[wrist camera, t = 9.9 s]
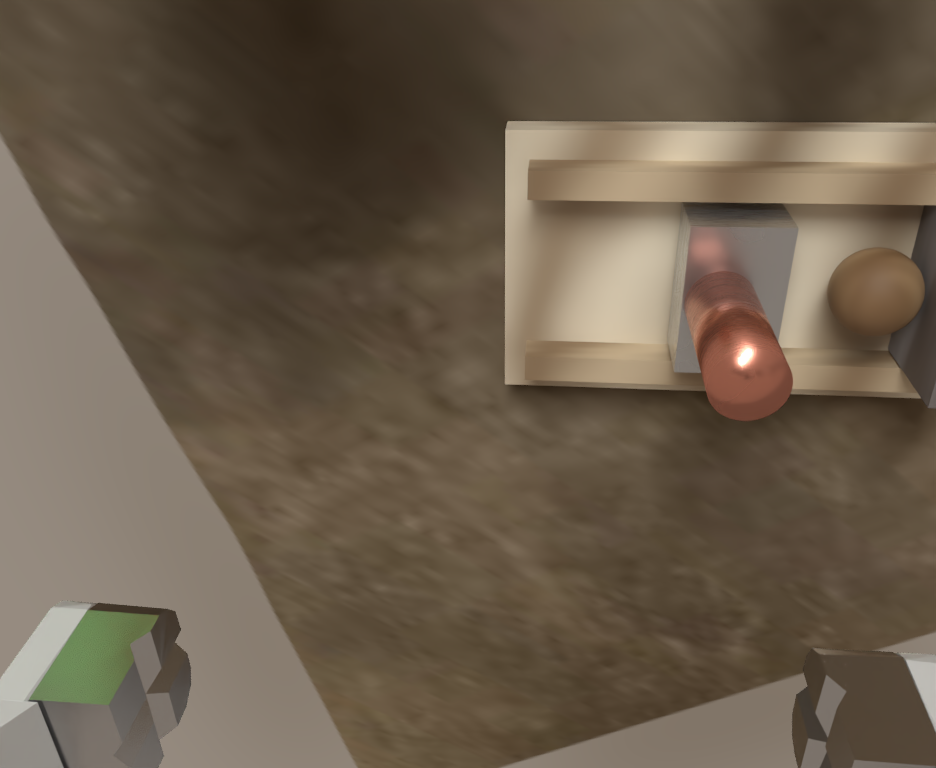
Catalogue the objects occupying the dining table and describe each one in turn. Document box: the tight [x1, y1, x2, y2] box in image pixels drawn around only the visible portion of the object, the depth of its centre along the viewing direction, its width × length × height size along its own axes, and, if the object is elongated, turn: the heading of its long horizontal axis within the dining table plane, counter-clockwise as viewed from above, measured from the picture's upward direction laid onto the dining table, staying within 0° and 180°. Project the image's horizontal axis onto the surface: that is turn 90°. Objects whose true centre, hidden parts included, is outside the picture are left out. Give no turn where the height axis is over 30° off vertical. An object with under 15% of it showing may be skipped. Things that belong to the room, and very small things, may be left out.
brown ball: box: [827, 247, 925, 336], centre depth 35 cm, size 4×4×4 cm
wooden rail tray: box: [505, 121, 936, 408], centre depth 36 cm, size 20×12×6 cm, turn 91°
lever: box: [667, 202, 799, 421], centre depth 33 cm, size 4×6×10 cm, turn 1°
